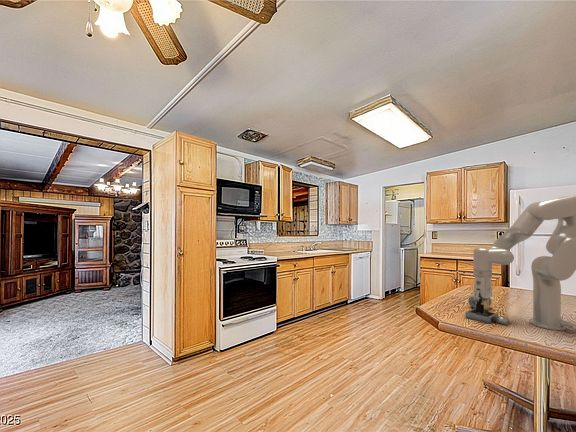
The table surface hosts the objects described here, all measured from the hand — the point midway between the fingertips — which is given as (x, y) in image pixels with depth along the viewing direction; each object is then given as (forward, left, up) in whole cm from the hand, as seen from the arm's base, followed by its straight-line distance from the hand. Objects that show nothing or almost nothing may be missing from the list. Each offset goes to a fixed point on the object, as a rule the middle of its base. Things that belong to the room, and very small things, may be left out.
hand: (482, 311), depth 141 cm
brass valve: (0, 0, -1) cm, 1 cm away
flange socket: (-2, 0, -4) cm, 5 cm away
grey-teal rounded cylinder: (+8, -21, -4) cm, 23 cm away
